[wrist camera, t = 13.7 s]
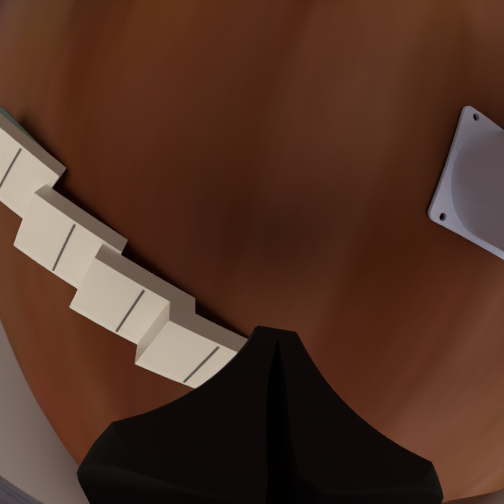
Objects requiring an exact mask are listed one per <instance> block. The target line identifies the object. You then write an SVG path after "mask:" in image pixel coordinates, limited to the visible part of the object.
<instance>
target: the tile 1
mask: <svg viewBox="0 0 504 504" xmlns="http://www.w3.org/2000/svg"><path fill="white" fill-rule="evenodd" d="M65 170H66V167H65V166H63V165H62V164H61V163H60V162H58V161H57V160H56V159H55V158H54V157H52V156H51V155H50V154H49V153H47V152H46V151H45V150H44V149H43V148H41V147H40V146H39V145H38V144H36V143H35V142H34V141H33V140H32V139H30V138H29V137H28V136H27V135H26V134H24V133H23V132H22V131H21V130H20V129H18V128H17V127H16V126H15V125H14V124H13V123H11V122H10V121H9V120H8V119H7V118H6V117H4V116H3V115H2V114H1V113H0V201H1V202H3V203H4V204H5V205H6V206H8V207H9V208H10V209H11V210H13V211H14V212H15V213H17V214H18V215H19V216H20V217H22V218H24V215H25V212H26V210H27V207H28V205H29V202H30V200H31V198H32V195H33V193H34V192H35V191H37V190H38V189H39V188H41V187H42V186H44V185H45V184H46V185H48V186H49V187H50V188H52V189H53V187H54V186H55V184H56V183H57V181H58V180H59V178H60V177H61V175H62V174H63V172H64V171H65Z"/></svg>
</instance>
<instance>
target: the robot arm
mask: <svg viewBox="0 0 504 504" xmlns="http://www.w3.org/2000/svg"><path fill="white" fill-rule="evenodd" d="M473 115H475V116H476V121H475V120H474V118H473ZM441 213H443V215H444V216H443V218H442V219H441V220H440V218H439V216H440V214H441ZM428 217H429V218H430V219H431V220H432V221H434V222H436V223H438V224H440V225H442V226H444V227H446V228H448V229H450V230H452V231H454V232H455V233H457V234H459V235H461V236H463V237H465V238H466V239H468V240H470V241H472V242H474V243H475V244H477V245H479V246H481V247H483V248H484V249H486V250H488V251H489V252H491V253H493V254H495V255H496V256H498V257H500V258H501V259H503V260H504V130H503V129H502V128H500V127H499V126H498V125H496V124H495V123H494V122H492V121H491V120H490V119H488V118H487V117H486V116H484V115H483V114H481V113H480V112H479V111H477V110H476V109H474V108H473V107H471V106H465V107H464V108H463V109H462V112H461V115H460V119H459V122H458V126H457V129H456V133H455V136H454V139H453V142H452V145H451V149H450V152H449V155H448V158H447V161H446V164H445V167H444V169H443V172H442V175H441V178H440V181H439V183H438V186H437V189H436V191H435V194H434V197H433V199H432V202H431V204H430V207H429V209H428ZM77 476H78V480H79V483H80V485H81V487H82V489H83V491H84V493H85V495H86V497H87V499H88V501H89V503H90V504H441V502H442V500H443V498H444V497H443V492H442V489H441V485H440V482H439V479H438V476H437V473H436V471H435V468H434V466H433V464H432V462H430V461H428V460H426V459H424V458H422V457H420V456H418V455H416V454H414V453H412V452H410V451H409V450H407V449H405V448H403V447H401V446H399V445H398V444H396V443H395V442H393V441H392V440H390V439H389V438H387V437H386V436H384V435H383V434H381V433H380V432H378V431H377V430H376V429H374V428H373V427H372V426H370V425H369V424H368V423H367V422H366V421H364V420H363V419H362V418H361V417H360V416H358V415H357V414H356V413H355V412H354V411H353V410H352V409H351V408H350V407H349V406H348V405H347V404H346V403H345V402H344V401H343V400H342V399H341V398H340V397H339V396H338V395H337V394H336V392H335V391H334V390H333V389H332V388H331V386H330V385H329V384H328V383H327V381H326V380H325V379H324V377H323V376H322V374H321V373H320V372H319V370H318V368H317V367H316V365H315V364H314V362H313V361H312V359H311V358H310V356H309V354H308V352H307V351H306V349H305V347H304V345H303V344H302V342H301V340H300V338H299V336H298V334H297V333H296V332H294V331H287V330H281V329H275V328H269V327H264V326H257V327H255V328H254V331H253V333H252V334H251V336H250V337H249V339H248V340H247V342H246V343H245V344H244V346H243V347H242V348H241V349H240V350H239V351H238V353H237V354H236V355H235V356H234V357H233V358H232V359H231V360H230V361H229V362H228V363H227V364H226V365H225V366H224V367H223V368H222V369H221V370H219V371H218V372H217V373H216V374H215V375H213V376H212V377H211V378H210V379H208V380H207V381H206V382H204V383H203V384H201V385H200V386H198V387H197V388H195V389H194V390H192V391H190V392H189V393H187V394H186V395H184V396H182V397H180V398H178V399H176V400H174V401H172V402H170V403H168V404H166V405H163V406H161V407H159V408H157V409H154V410H152V411H149V412H147V413H144V414H140V415H137V416H134V417H130V418H127V419H123V420H119V421H115V422H112V423H111V424H110V425H109V426H108V427H107V428H106V430H105V431H104V432H103V433H102V434H101V435H100V437H99V438H98V439H97V440H96V441H95V442H94V444H93V445H92V447H91V448H90V450H89V452H88V453H87V455H86V457H85V458H84V460H83V462H82V463H81V465H80V467H79V469H78V471H77ZM0 504H44V503H42V502H40V501H39V500H37V499H35V498H34V497H32V496H30V495H29V494H27V493H25V492H24V491H22V490H21V489H19V488H18V487H16V486H14V485H13V484H12V483H10V482H8V481H7V480H6V479H4V478H3V477H1V476H0Z"/></svg>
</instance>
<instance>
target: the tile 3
mask: <svg viewBox="0 0 504 504" xmlns="http://www.w3.org/2000/svg"><path fill="white" fill-rule="evenodd" d="M170 301H172V302H173V303H175V304H177V305H179V306H181V307H183V308H185V309H187V310H189V311H191V312H193V313H195V298H194V297H192V296H191V295H189V294H187V293H185V292H183V291H182V290H180V289H178V288H176V287H175V286H173V285H171V284H169V283H168V282H166V281H164V280H162V279H161V278H159V277H157V276H156V275H154V274H152V273H150V272H149V271H147V270H145V269H144V268H142V267H140V266H139V265H137V264H135V263H134V262H132V261H130V260H129V259H127V258H125V257H124V256H122V255H120V254H119V253H117V252H115V251H114V250H112V249H111V248H109V247H107V246H106V245H104V244H102V245H101V247H100V249H99V251H98V252H97V254H96V256H95V258H94V259H93V261H92V263H91V265H90V267H89V269H88V271H87V273H86V275H85V277H84V278H83V280H82V282H81V284H80V286H79V288H78V290H77V292H76V295H75V297H74V299H73V301H72V303H71V305H70V308H71V309H73V310H75V311H77V312H78V313H80V314H82V315H83V316H85V317H87V318H89V319H90V320H92V321H94V322H96V323H98V324H99V325H101V326H103V327H105V328H107V329H109V330H110V331H112V332H114V333H116V334H118V335H120V336H122V337H124V338H126V339H128V340H130V341H132V342H134V343H136V344H138V343H139V341H140V340H141V339H142V337H143V336H144V335H145V333H146V332H147V331H148V329H149V328H150V327H151V325H152V324H153V323H154V321H155V320H156V319H157V317H158V316H159V315H160V313H161V312H162V311H163V309H164V308H165V307H166V306H167V304H168V303H169V302H170Z"/></svg>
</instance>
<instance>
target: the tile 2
mask: <svg viewBox="0 0 504 504" xmlns="http://www.w3.org/2000/svg"><path fill="white" fill-rule="evenodd" d="M127 241H128V240H127V239H126V238H124V237H123V236H121V235H120V234H118V233H117V232H115V231H114V230H112V229H111V228H109V227H108V226H106V225H105V224H103V223H102V222H100V221H99V220H97V219H96V218H94V217H93V216H91V215H90V214H88V213H87V212H85V211H84V210H82V209H81V208H79V207H78V206H76V205H75V204H73V203H72V202H70V201H69V200H68V199H66V198H65V197H63V196H62V195H60V194H59V193H58V192H56V191H55V190H53V189H52V188H50V187H49V186H48V185H46V184H45V185H44V186H42V187H41V188H39V189H38V190H37V191H35V192H34V193H33V195H32V198H31V200H30V202H29V205H28V207H27V210H26V212H25V215H24V218H23V220H22V223H21V226H20V228H19V231H18V234H17V237H16V240H15V243H14V246H15V247H17V248H18V249H19V250H21V251H22V252H24V253H25V254H26V255H28V256H29V257H31V258H32V259H33V260H35V261H36V262H38V263H39V264H41V265H42V266H44V267H45V268H47V269H48V270H50V271H51V272H52V273H54V274H55V275H57V276H59V277H60V278H62V279H63V280H65V281H66V282H68V283H69V284H71V285H72V286H74V287H76V288H77V289H78V288H79V286H80V284H81V282H82V280H83V278H84V277H85V275H86V273H87V271H88V269H89V267H90V265H91V263H92V261H93V259H94V258H95V256H96V254H97V252H98V251H99V249H100V247H101V245H102V244H104V245H106V246H107V247H109V248H111V249H112V250H114V251H115V252H117V253H119V254H120V255H121V253H122V251H123V249H124V247H125V245H126V243H127Z"/></svg>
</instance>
